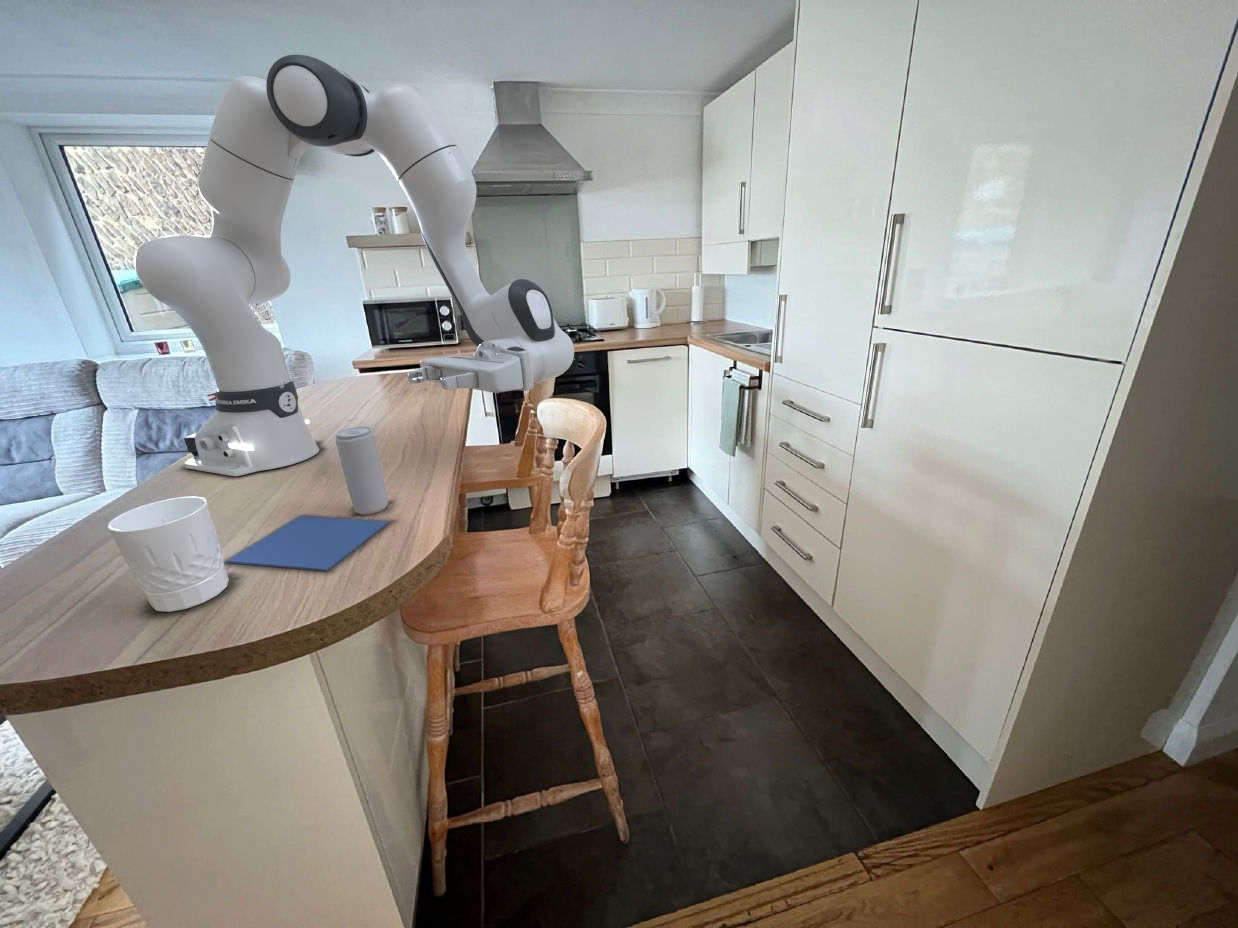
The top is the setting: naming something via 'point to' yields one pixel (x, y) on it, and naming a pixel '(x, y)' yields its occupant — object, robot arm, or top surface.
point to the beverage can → (362, 469)
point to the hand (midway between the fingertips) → (426, 381)
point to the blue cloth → (309, 543)
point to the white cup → (172, 552)
